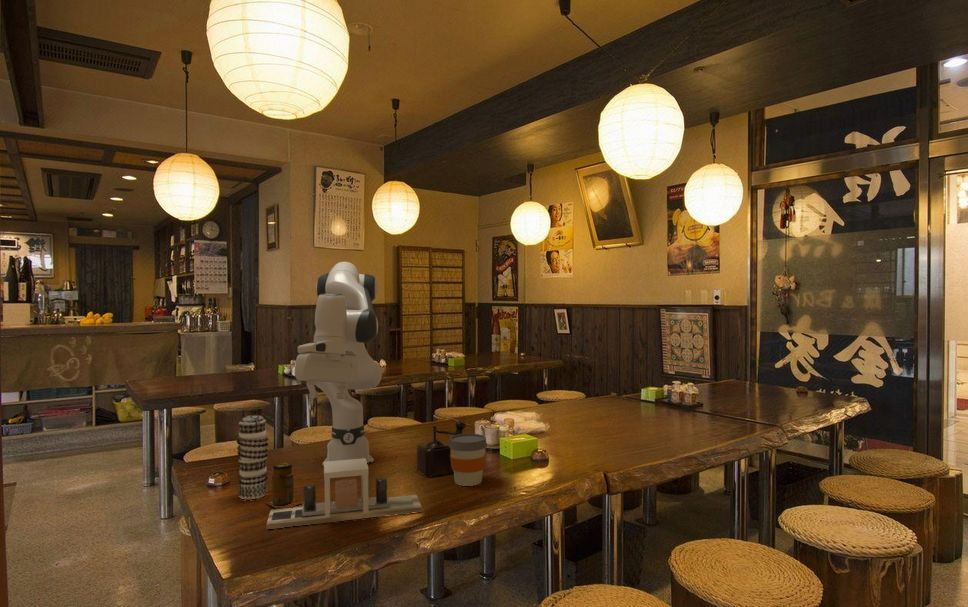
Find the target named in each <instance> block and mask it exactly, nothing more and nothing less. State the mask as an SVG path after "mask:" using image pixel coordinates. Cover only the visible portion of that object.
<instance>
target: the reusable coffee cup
mask: <svg viewBox="0 0 968 607" xmlns="http://www.w3.org/2000/svg"><path fill="white" fill-rule="evenodd" d="M448 445H449V447H450V450H451V454H450V459H451V466H452V469H453V472H454V473H453V478H454V479H453V480H454V484H455V483H456V484H458V485H462V486H473V485H477V484H479V483H481V482H482V483H483V475H484V469H485V465H486V459H487V458H486V457H487V453H486V448H487V438H486V436H485V435H482V434H478V433H462V434H458V435H451V436H450V437H449V444H448ZM482 483H481V484H482ZM456 484H455V485H456Z"/></svg>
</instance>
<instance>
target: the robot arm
mask: <svg viewBox="0 0 968 607" xmlns="http://www.w3.org/2000/svg"><path fill="white" fill-rule="evenodd" d="M378 292H379V286H378V282H377V280H376V277H375V276H374V275H372V274H369V273H365V274H361V273H359V270H358V268H357V267H356V265H355V264H353V263H351V262H349V261H340V262H337V263H336V264H334V265H333V267H332V268H331V269H330V271H329V272H326V273H325V274H322V275H320V276H319V277H318V278H317V281H316V282H315V293H316V296H317V301H316V306H315V310H314V311H315V314H314V315H313V317H312V333H313V334H314V335H313V341H311V342H308V343H305V344H301V345H298V346H297V353H298V355H297V356H296V359H295V365H294V378H295V379H296V381H303V382H304V381H305V382H306V387H307V389H308V392H309V398H310V399H318V398H319V391H317V390H316V387H317V388H318V389H320V390H321V392H323V393H324V394H325V396H326V397H327V399H328V400H329V403H330V406H331V413H332V414H331V415H332V416H331V417H332V427H331V440H329V442H328V443H327V445H326V450H327V454H326V455H327V457H326V458H325V459H324V461H322V465H323V466H322V465H321V466H322V467H324V462H328V461H340V460H351V459H363V458H366V460H367V463H368V462H371V463H373V462H372V461H374V462H375V458H373V456H371V455H370V448H369V445H370V444H369V443H370V442H369V439H368V438H366V437H365V431H366V430H365V424H364V407H363V405H362V403H361V401H360V400H358V399H356V398H354V397H352V396H351V395H350V393H349V390H368V389H373V388H376V387H377V386H378V385H379V384H380V383H381V380H382V377H383V372H382V369H381V366H380V364H379V363H378V362H376V361H375V360H374V359H373V358H372V357H371V356H370V354H369V352H368V350H367V349H366V347H365V346H366V345H365V344H369V343H371V342H372V341H374V339H375V338H376V337H377V335H378V333H379V332H378V331H379V320H378V318H377V315H376V314H377V313H375V311H374V306H373V301H375V299H376V296H377V295H378ZM315 386H316V387H315ZM368 464H369V463H368Z"/></svg>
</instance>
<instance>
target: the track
mask: <svg viewBox="0 0 968 607" xmlns="http://www.w3.org/2000/svg"><path fill="white" fill-rule="evenodd" d="M388 499H389V503H390V507H383V508H374V509H369V513H364V514H363V510H356V511H346V512H337V513H330V517H328V518H325V514H319V515H310V516H302V509H303V505H301V506H295V507H293V508H283V509H274V508H273V509H270V512H269V514H268V519H267V521H266V528H265V530H266V531H268V530H267V529H274V530H276V529H275V528H283V529H285V528H284V527H291V528H293V527H292V526H300V527H302V526H301V525H309V526H311V525H310V524H316V523H325V522H335V521H344V520H351V519H361V518H369V517H376V516H385V515H395V514H404V513H412V512H422V513H423V507H422V504H421V502H420V500H419V498H418V495H417V494H410V495H398V496H389V497H388ZM344 522H345V521H344ZM335 523H336V522H335Z"/></svg>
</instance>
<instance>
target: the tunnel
mask: <svg viewBox="0 0 968 607" xmlns="http://www.w3.org/2000/svg"><path fill="white" fill-rule="evenodd" d="M323 462H324V461H323ZM369 475H370V474H369V465H368V464H367V460H366V458H363V459H351V460H340V461H328V462H324V466H323V479H324V502H325V518H328V517H330V501H331V479H336V478H337V479H338V478H346V477H347V478H348V477H358V476H359V477H360V479H361V481H360V483H361V484H360V485H361V488H360V490H361V494H360V495H361V498H363V514H364V513H369V508H368V497H369Z"/></svg>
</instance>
